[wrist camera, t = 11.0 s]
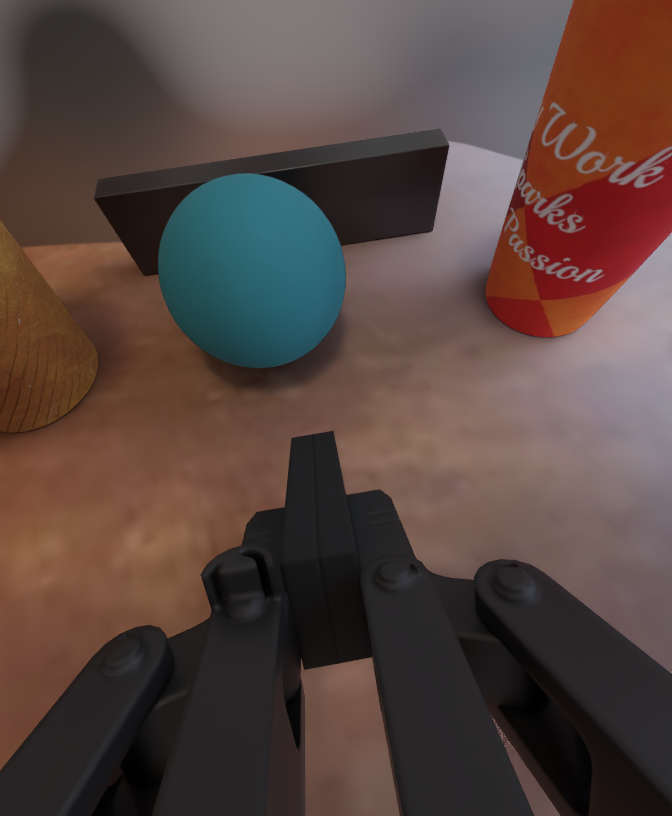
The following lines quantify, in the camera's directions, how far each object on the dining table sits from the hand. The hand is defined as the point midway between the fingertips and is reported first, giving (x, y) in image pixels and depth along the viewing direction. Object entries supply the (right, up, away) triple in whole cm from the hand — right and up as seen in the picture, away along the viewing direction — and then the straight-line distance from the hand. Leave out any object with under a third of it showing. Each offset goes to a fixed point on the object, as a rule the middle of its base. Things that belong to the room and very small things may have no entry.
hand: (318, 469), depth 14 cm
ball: (-3, +8, +3) cm, 9 cm away
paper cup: (+12, +8, +7) cm, 16 cm away
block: (-2, +12, +10) cm, 16 cm away
